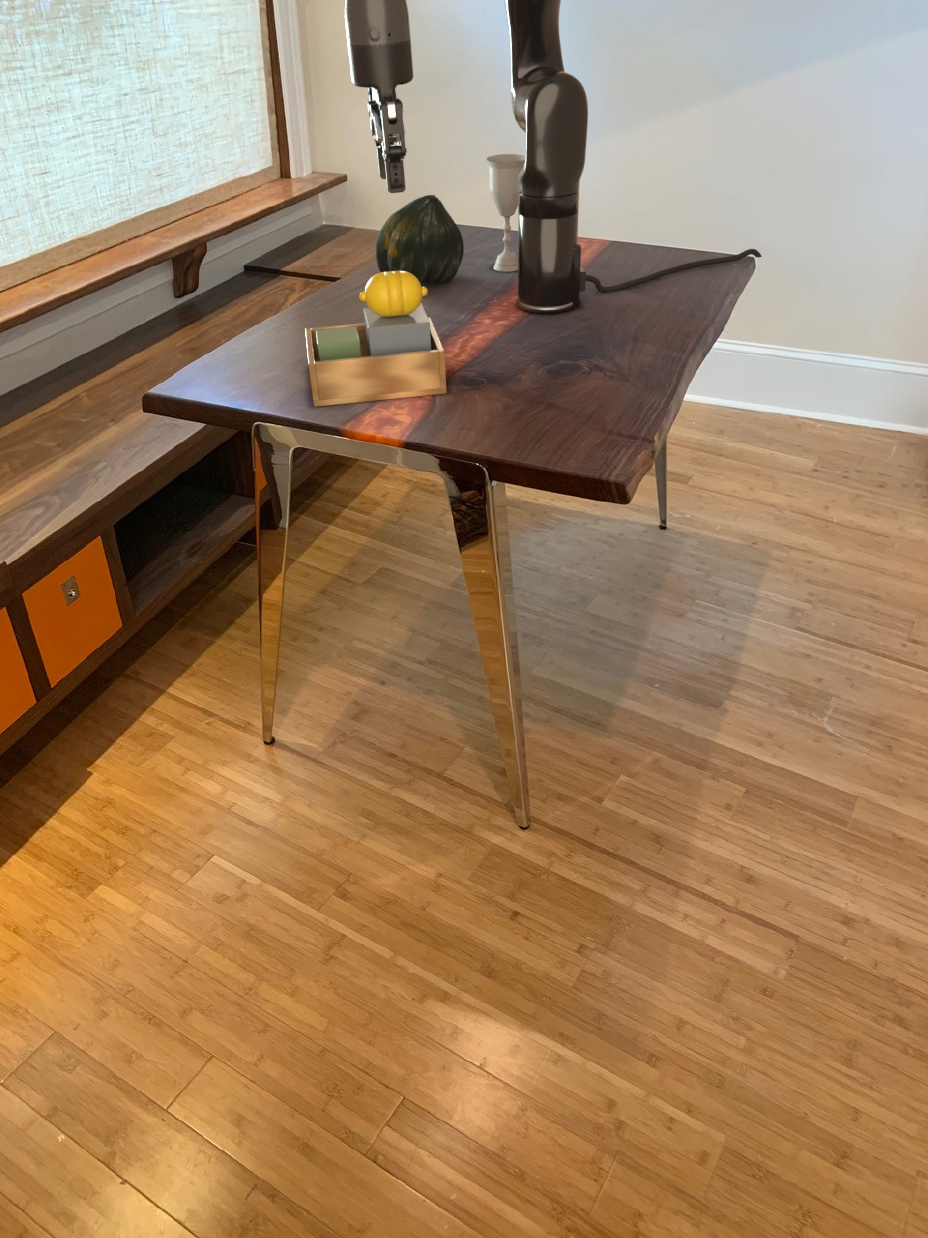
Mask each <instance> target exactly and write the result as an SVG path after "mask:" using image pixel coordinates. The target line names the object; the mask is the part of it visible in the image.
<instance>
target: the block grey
mask: <svg viewBox="0 0 928 1238" xmlns="http://www.w3.org/2000/svg"><path fill="white" fill-rule="evenodd" d="M363 318H364V323H365V329H366V340H367V350H368V356H379V355H389V354H400V353H410V352H421V351H431V337H430V322H429V320H428V316H427V313H426V311H425V308H424V306H423V303H422V302H421V303H420V305H419V307H418V308H417V309H416V310H415V311H414V312H412V313H411V314H408V315H404V316H394V317H382V316H379V315H377V314H375V313H374V312H372V311H371V310H370V308H369V307H364V308H363Z"/></svg>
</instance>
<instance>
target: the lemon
mask: <svg viewBox="0 0 928 1238" xmlns="http://www.w3.org/2000/svg"><path fill="white" fill-rule="evenodd" d="M428 291H429V290H428V288H427V287H426V286H422V285H421V284H420V282H419V281H418V279H417V278H416V277H415V276H414V275H413V274H411V273H409V272H406V271H390V272H379V273H376V274H374V275H372V276H371V277H370V278H369V280H368V281H367V283H366V285H365V287H364V291H361V292H360V293H359V296H358V297H359V300H360V301H361V302H365V303H366V306H367V308H370V310H371V311H372V312H374V313H375V314H377V315H379V316H382V317H394V316H404V315H408V314H411V313H412V312H414V311H415V310H416V309H417V308H418V307H419V305H420V303H422V300H423V297H426V296H427V295H428Z"/></svg>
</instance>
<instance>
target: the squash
mask: <svg viewBox="0 0 928 1238" xmlns="http://www.w3.org/2000/svg"><path fill="white" fill-rule="evenodd" d="M464 249H465V248H464V238H463V235H462V232H461V230H460V229H459V227H458V225H457V223H456V222H455V220H454V218H453V217H452V216H451V214H450V213H449V212H448V210H447V209H446V208H445V206H444V204H443V202H442V201H441V200H440V199H439V198H438V197H437V196H436V195H435V194H427V195H422V196H421V197H418V198H415V199H413V200H412V201H410V202H408V203H407V204H405V205H404V206H402V207H401V208H399V209H397V210H396V211H395V212H393V213H392V214H391V215H389V217H388V218H387V220H386V221H385V222H384V224H383V225H382V227H381V228H380V230H379V234H378V235H377V239H376V242H375V258H376V264H377V265H376V266H377V268H378V271H379V273H381V272H390V271H406V272H409V273H411V274H413V275H414V276H415V277H416V278H417V279H418V281H419V282H420V284H421V286H422V285H424V284H435V285H443V284H447V283H450V282H451V281H452V280H453V279H454V278H455V277H456V275H457V273H458V271H459V269H460V266H461V265H462V262H463V259H464V252H465V251H464Z"/></svg>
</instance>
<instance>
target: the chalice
mask: <svg viewBox="0 0 928 1238" xmlns="http://www.w3.org/2000/svg"><path fill="white" fill-rule="evenodd" d="M525 157H526V155H523V154H516V153H503V154H502V153H501V154H494V155H490V156H488V157H486V162H487V164H488V166H489V169H488V170H489V192H490V195H491V198H492V201H493V204H494V206H495V208H496V210H497V212H498V215H499V216H501V217H503V221H504V223H503V226H502V230H503V232H504V235H503V238H502V239H501V240H502V241H503V244H504V247H503V248H504V249H503V250H502V252H500V253H498V255H497V257H496V260H495V262H494V265H493V270H495V271H498V272H506V273H507V272H508V273H509V272H515V271H518V254H516V252H512V250H511V247H510V245H511V242H512V237H511V235H510V233H511V230H512V226H511V223H510V221H511V220H510V219H511V217H512V216H514V215H515V214H516V212H517V210H518V176H519V173H520V171H521V170H522V169H523V167H524V164H525Z"/></svg>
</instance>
